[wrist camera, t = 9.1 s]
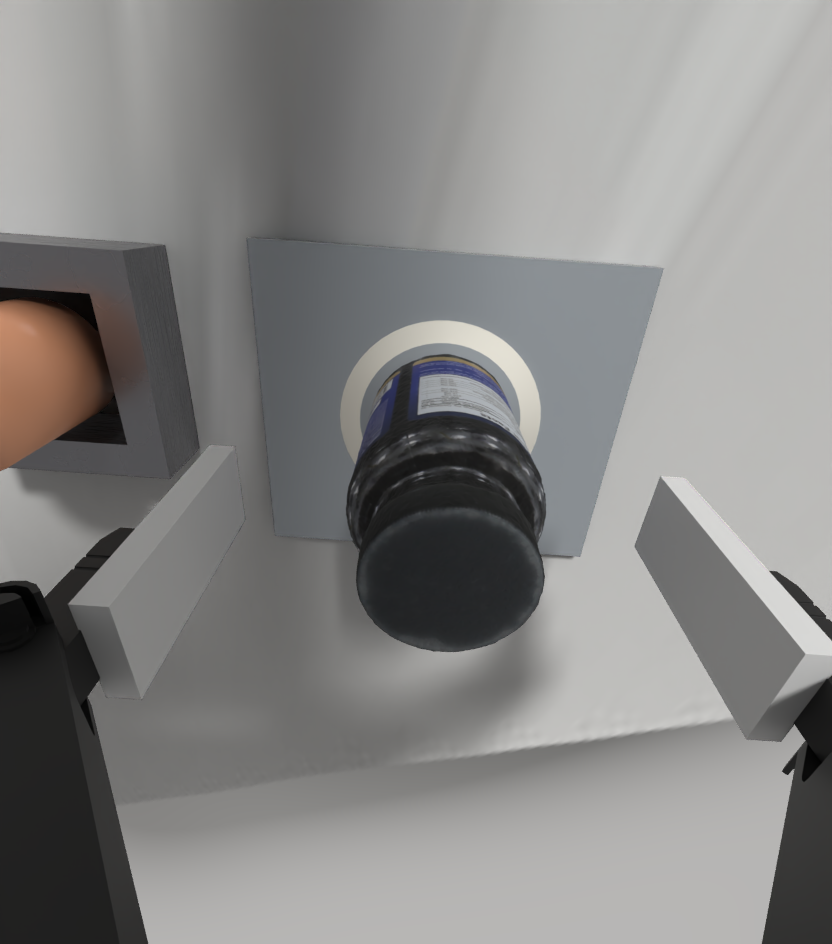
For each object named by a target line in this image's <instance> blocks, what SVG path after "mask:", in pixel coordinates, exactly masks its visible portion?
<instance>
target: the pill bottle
mask: <svg viewBox="0 0 832 944" xmlns="http://www.w3.org/2000/svg"><path fill="white" fill-rule="evenodd" d="M346 516H347V523H348V527H349V530H350V535H351V538H352V539H353V542H354V544H355V546H356V547H357V549H358V552H359V559H358V565H357V573H356V574H357V577H356V583H357V590H358V595H359V599H360V601H361V603H362V605H363V607H364V609H365V610H366V612H367V614H368V616H369V617H370V618H371V619H372V620H373V622H374V623H375V624H376V625H377V626H378V627H380V628H381V629H382V630H383V631H384V632H386V633H387V634H388V635H390V636H391V637H393V638H395V639H397V640H399V641H401V642H403V643H406V644H409V645H411V646H416V647H417V648H420V649H426V650H431V651H441V652H460V651H465V650H471V649H476V648H480V647H483V646H487V645H490V644H494V643H496V642H497V641H498V640H500V639H502V638H505V637H506V636H508V635H509V634H511V633H513V632H514V631H516V630H517V629H518V628H519V627H521V626H522V625H523V624H524V623H525V622H526V620H527V619H528V618H529V617H530V616H531V614H532V612H534V611H535V609H536V607H537V605H538V603H539V599H540V596H541V594H542V592H543V586H544V578H545V575H544V568H543V561H542V558H541V555H540V552H539V548H538V542H539V539H540V537H541V534H542V531H543V527H544V522H545V518H546V498H545V493H544V488H543V484H542V478H541V476H540V473H539V471H538V469H537V468H536V465H535V464H534V461H533V459H532V457H531V454H530V452H529V450H528V448H527V445H526V443H525V441H524V438H523V436H522V434H521V431H520V429H519V427H518V424H517V422H516V420H515V417H514V415H513V413H512V410H511V408H510V406H509V403H508V401H507V398H506V396H505V394H504V392H503V390H502V388H501V386H500V385H499V383H498V382H497V380H496V379H495V377H494V376H493V375H491V374H490V373H489V372H488V371H487V370H486V369H484V368H483V367H482V366H480V365H479V364H477V363H475V362H473V361H470V360H468V359H465V358H462V357H458V356H456V355H451V354H439V355H429V356H424V357H422V358H420V359H417V360H414V361H411V362H409V363H408V364H405V365H403V366H401V367H400V368H398V369H397V370H396V371H394V372H393V373H392V374H391V375H390V376H389V377H388V378H387V379H386V380H385V382H384V383H383V385H382V386H381V388H380V389H379V390H378V393H377V395H376V398H375V400H374V402H373V405H372V409H371V412H370V416H369V419H368V423H367V426H366V430H365V433H364V436H363V440H362V443H361V447H360V450H359V452H358V457H357V461H356V465H355V468H354V472H353V475H352V478H351V481H350V483H349V486H348V492H347V505H346Z"/></svg>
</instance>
